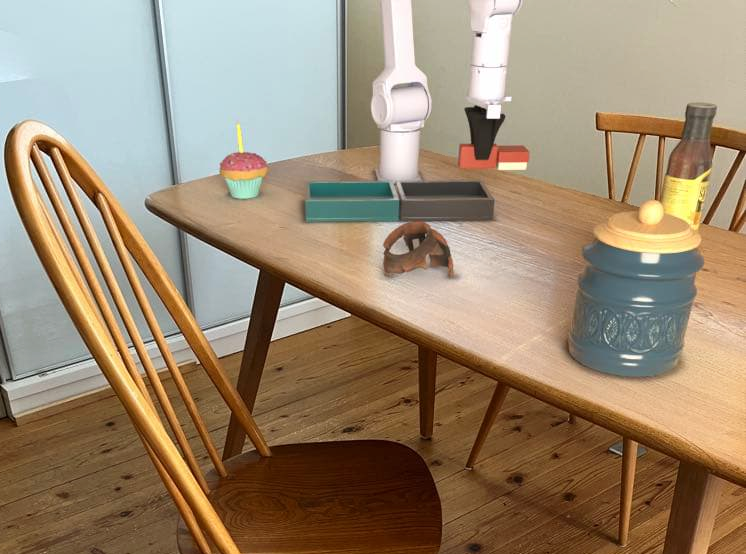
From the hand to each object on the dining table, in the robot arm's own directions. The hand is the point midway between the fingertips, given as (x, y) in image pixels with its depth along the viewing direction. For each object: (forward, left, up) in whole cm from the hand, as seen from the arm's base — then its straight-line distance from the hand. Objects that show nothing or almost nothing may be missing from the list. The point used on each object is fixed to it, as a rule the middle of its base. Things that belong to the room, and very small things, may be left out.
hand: (480, 157), depth 148 cm
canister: (+59, +8, -8) cm, 60 cm away
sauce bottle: (+21, +27, -8) cm, 35 cm away
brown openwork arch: (+31, -13, -8) cm, 34 cm away
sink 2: (+1, -6, -8) cm, 10 cm away
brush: (0, +2, -2) cm, 2 cm away
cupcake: (-9, -39, -8) cm, 41 cm away
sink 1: (+1, -21, -8) cm, 23 cm away
